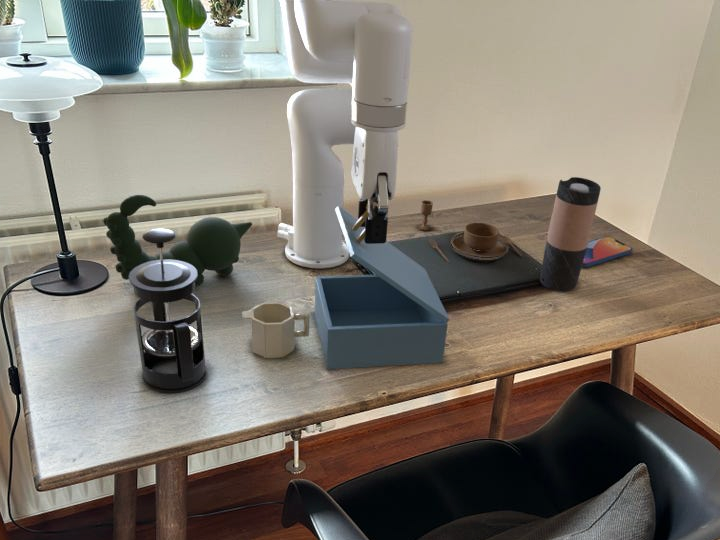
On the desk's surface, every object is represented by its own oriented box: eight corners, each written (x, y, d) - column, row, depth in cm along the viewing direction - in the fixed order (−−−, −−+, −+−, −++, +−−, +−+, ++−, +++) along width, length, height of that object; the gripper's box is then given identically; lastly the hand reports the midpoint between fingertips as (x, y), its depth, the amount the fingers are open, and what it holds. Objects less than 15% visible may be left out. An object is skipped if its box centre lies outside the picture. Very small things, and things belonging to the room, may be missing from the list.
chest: (326, 369, 114) (327, 329, 110) (314, 313, 127) (315, 276, 123) (442, 362, 118) (448, 324, 114) (419, 309, 131) (423, 273, 127)
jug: (245, 359, 115) (243, 325, 111) (243, 336, 120) (242, 303, 116) (311, 355, 117) (311, 322, 113) (306, 333, 122) (307, 300, 119)
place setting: (450, 268, 145) (454, 241, 142) (413, 226, 160) (416, 200, 157) (528, 260, 151) (533, 233, 148) (485, 220, 166) (489, 195, 163)
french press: (132, 364, 111) (110, 223, 98) (192, 348, 116) (179, 211, 103) (158, 407, 104) (138, 260, 91) (221, 388, 108) (211, 246, 95)
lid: (350, 257, 104) (378, 225, 102) (334, 209, 117) (359, 179, 115) (446, 323, 114) (473, 295, 112) (422, 272, 127) (445, 246, 125)
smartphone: (558, 254, 155) (559, 249, 154) (607, 239, 162) (608, 235, 161) (583, 269, 150) (584, 264, 149) (633, 253, 157) (634, 249, 156)
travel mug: (577, 295, 140) (602, 195, 129) (537, 288, 141) (558, 189, 130) (577, 276, 147) (601, 180, 135) (539, 270, 148) (559, 174, 136)
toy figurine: (136, 317, 125) (268, 273, 137) (110, 215, 113) (257, 177, 125) (117, 293, 131) (245, 252, 143) (91, 193, 120) (232, 158, 131)
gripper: (342, 94, 107) (338, 211, 118) (362, 132, 94) (356, 260, 104) (393, 95, 109) (384, 210, 119) (419, 133, 96) (408, 259, 106)
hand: (371, 233), depth 112 cm, fingers closed on lid, 5 cm apart
